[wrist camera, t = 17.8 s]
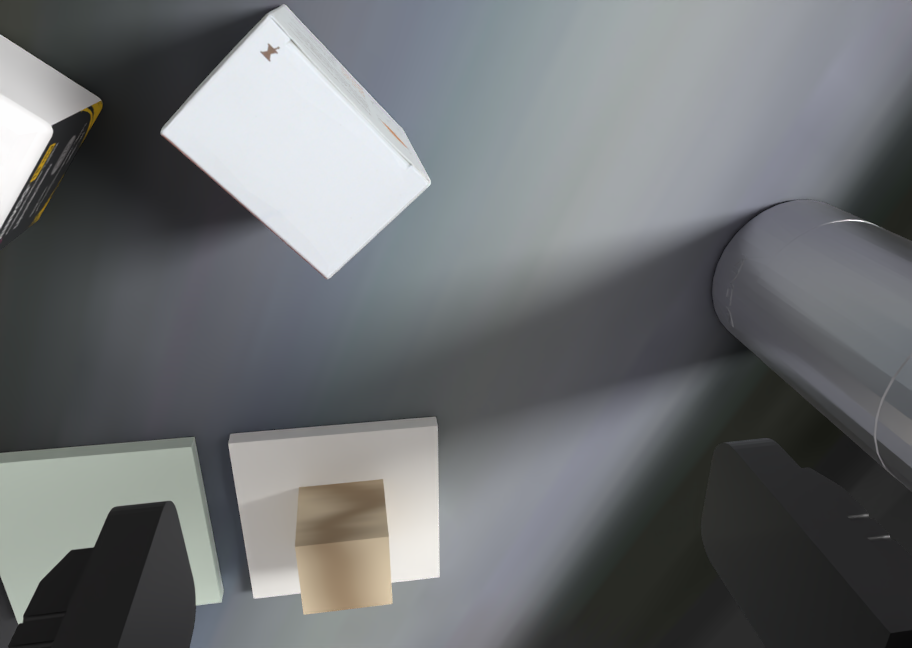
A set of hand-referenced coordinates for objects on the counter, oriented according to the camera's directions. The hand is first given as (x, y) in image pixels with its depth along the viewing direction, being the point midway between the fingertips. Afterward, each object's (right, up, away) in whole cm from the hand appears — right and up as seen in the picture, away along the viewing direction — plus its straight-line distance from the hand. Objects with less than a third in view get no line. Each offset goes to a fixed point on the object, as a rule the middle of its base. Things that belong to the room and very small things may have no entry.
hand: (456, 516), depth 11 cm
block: (-7, -9, +33) cm, 35 cm away
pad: (-7, -9, +34) cm, 36 cm away
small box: (-7, +13, +24) cm, 28 cm away
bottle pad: (-21, -9, +32) cm, 39 cm away
